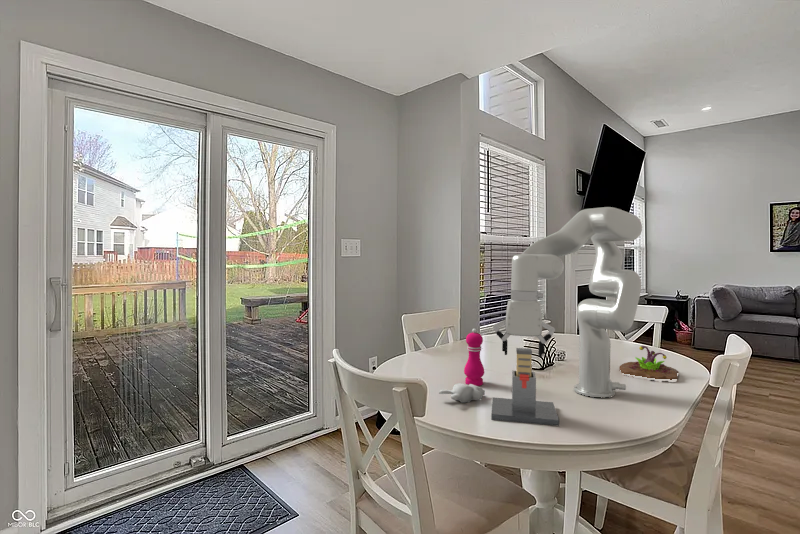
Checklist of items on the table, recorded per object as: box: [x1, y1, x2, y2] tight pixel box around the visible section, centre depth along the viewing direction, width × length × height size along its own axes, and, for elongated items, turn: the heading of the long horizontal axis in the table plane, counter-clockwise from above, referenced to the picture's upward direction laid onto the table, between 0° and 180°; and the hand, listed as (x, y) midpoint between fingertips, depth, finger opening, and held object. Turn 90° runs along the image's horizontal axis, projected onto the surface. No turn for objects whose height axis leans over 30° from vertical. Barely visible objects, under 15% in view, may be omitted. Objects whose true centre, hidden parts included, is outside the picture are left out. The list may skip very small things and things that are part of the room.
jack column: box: [515, 347, 533, 377], centre depth 123 cm, size 4×4×17 cm
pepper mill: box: [463, 328, 485, 387], centre depth 151 cm, size 7×7×20 cm
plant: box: [619, 345, 680, 380], centre depth 164 cm, size 20×20×11 cm
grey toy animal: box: [438, 382, 486, 404], centre depth 135 cm, size 10×5×15 cm
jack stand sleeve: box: [490, 370, 560, 427], centre depth 124 cm, size 18×14×12 cm
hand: (522, 355), depth 123 cm, fingers open, 9 cm apart
